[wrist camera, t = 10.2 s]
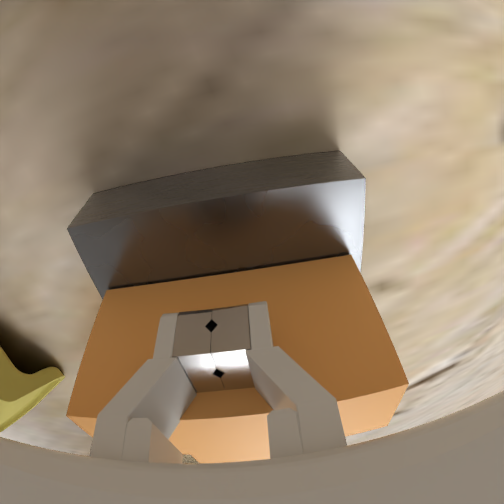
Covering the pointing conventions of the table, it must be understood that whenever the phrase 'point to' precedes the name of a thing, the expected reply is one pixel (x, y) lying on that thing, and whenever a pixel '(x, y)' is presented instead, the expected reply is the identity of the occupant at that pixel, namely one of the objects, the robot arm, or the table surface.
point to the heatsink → (223, 221)
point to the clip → (283, 334)
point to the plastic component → (22, 389)
